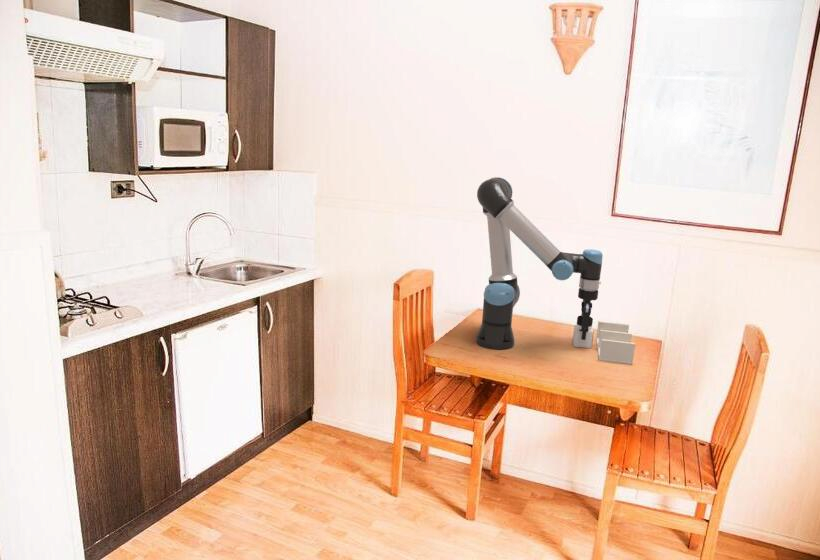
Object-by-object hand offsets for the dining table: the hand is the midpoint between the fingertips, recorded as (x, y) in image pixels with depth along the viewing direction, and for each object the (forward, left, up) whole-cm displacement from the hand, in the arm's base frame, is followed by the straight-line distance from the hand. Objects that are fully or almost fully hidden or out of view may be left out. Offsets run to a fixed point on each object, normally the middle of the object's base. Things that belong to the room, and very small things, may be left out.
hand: (582, 343), depth 252 cm
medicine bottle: (0, 0, -1) cm, 1 cm away
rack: (+12, -3, -1) cm, 12 cm away
